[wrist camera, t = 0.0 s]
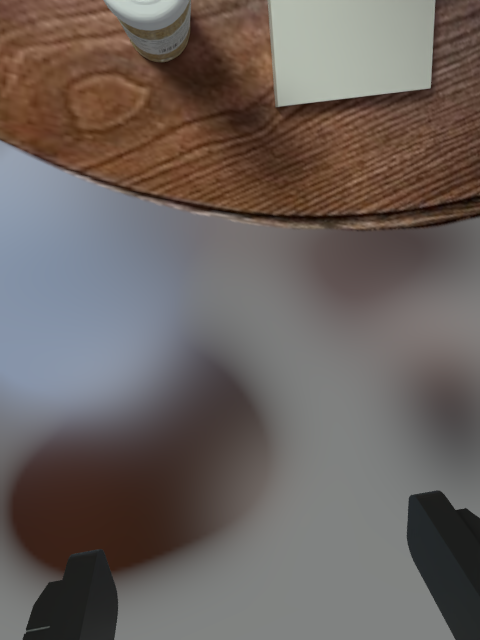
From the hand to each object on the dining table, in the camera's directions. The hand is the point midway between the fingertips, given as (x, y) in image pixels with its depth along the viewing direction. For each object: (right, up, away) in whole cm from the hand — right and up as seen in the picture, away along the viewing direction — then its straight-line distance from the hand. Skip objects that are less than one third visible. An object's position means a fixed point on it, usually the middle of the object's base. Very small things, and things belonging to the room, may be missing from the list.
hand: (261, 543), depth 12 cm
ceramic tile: (+7, +29, +21) cm, 36 cm away
